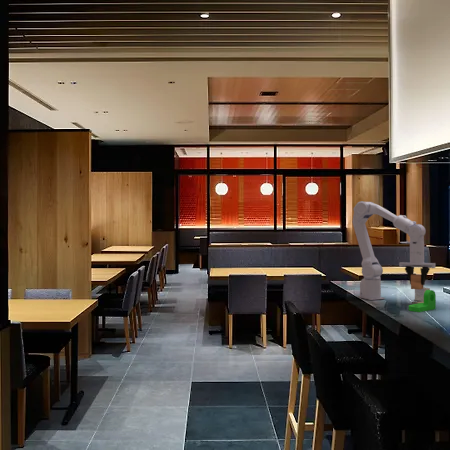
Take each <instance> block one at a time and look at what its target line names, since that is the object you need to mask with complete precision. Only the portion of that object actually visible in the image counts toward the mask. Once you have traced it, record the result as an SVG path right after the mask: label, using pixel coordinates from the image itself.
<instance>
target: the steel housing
mask: <svg viewBox="0 0 450 450" xmlns="http://www.w3.org/2000/svg"><path fill="white" fill-rule="evenodd" d="M426 290H431V288H430V287H425V286H423V289H421V290H419V289H414V299H413V302H419V301H423V302H424V293H425V291H426Z"/></svg>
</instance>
